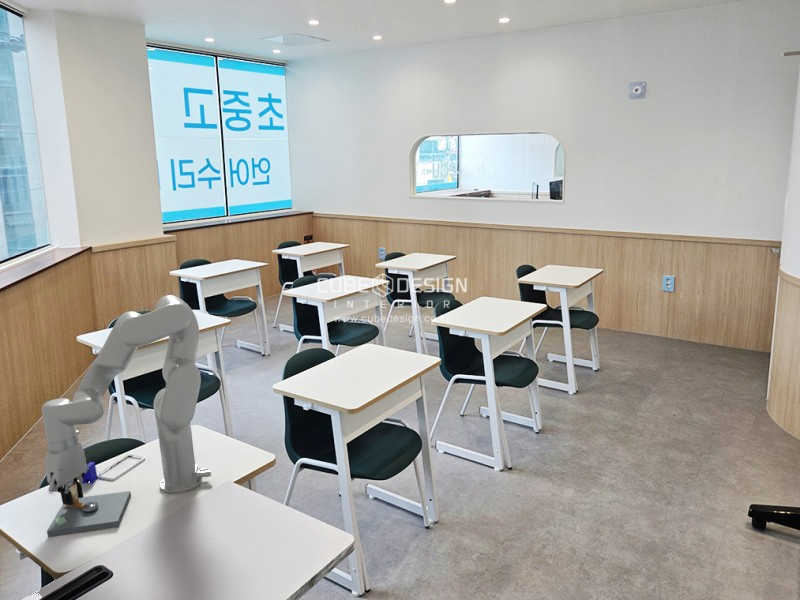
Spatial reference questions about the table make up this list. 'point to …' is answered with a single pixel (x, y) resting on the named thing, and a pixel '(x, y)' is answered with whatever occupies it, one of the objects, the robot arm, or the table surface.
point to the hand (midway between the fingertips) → (73, 500)
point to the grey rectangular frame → (121, 472)
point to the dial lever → (86, 507)
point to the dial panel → (91, 515)
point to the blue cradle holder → (90, 473)
